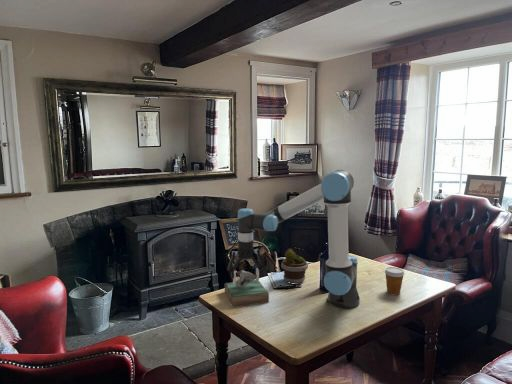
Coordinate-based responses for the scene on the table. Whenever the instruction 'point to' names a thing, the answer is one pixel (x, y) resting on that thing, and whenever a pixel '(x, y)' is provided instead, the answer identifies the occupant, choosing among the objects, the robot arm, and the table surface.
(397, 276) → the disposable coffee cup
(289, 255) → the flowerpot
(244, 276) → the mineral specimen
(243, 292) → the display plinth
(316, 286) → the table surface
